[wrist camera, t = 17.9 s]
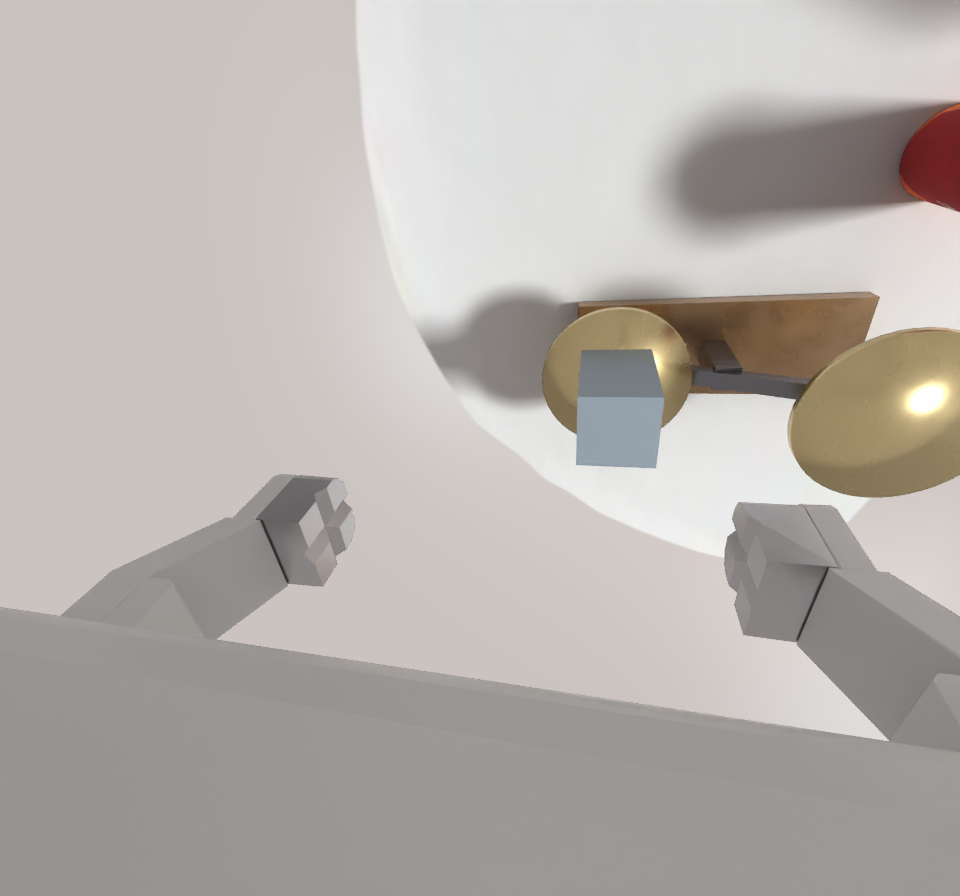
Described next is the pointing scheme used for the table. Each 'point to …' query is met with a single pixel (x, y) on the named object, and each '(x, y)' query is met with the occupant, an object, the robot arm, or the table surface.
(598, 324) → the balance
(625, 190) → the table surface
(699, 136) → the table surface
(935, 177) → the paper cup
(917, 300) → the table surface
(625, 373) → the block
